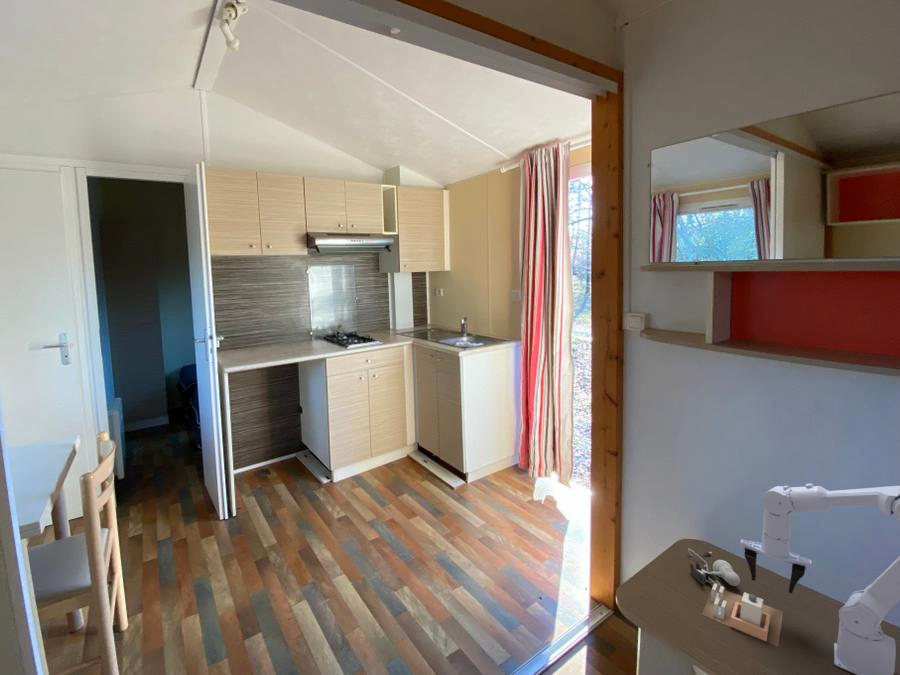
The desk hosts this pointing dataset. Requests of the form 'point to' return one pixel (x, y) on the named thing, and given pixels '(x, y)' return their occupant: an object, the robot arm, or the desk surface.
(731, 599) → the board
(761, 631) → the frame
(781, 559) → the robot arm
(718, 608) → the clips
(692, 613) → the desk surface
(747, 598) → the connector plug
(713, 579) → the clip-on lamp
